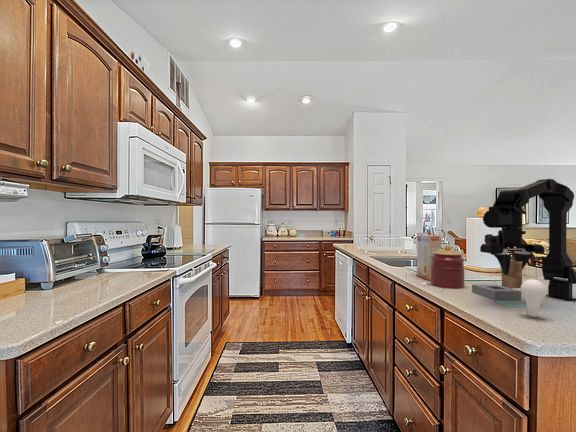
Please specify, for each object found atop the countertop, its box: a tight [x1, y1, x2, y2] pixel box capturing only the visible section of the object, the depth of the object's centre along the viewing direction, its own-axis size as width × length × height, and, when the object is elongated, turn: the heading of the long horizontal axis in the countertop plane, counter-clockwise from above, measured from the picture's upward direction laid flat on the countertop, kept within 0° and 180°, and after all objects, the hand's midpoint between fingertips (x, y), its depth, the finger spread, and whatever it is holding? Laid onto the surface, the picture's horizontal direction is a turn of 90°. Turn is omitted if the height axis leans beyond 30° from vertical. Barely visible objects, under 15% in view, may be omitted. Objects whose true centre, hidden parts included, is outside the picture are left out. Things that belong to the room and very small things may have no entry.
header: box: [471, 283, 522, 301], centre depth 120 cm, size 10×12×4 cm
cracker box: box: [416, 233, 442, 282], centre depth 158 cm, size 14×6×21 cm, turn 179°
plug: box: [500, 259, 523, 289], centre depth 109 cm, size 4×4×9 cm
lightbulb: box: [519, 278, 548, 318], centre depth 96 cm, size 6×6×11 cm
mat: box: [493, 300, 527, 308], centre depth 109 cm, size 7×7×1 cm
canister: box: [430, 244, 466, 290], centre depth 139 cm, size 13×13×18 cm
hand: (511, 274), depth 109 cm, fingers closed on plug, 4 cm apart
